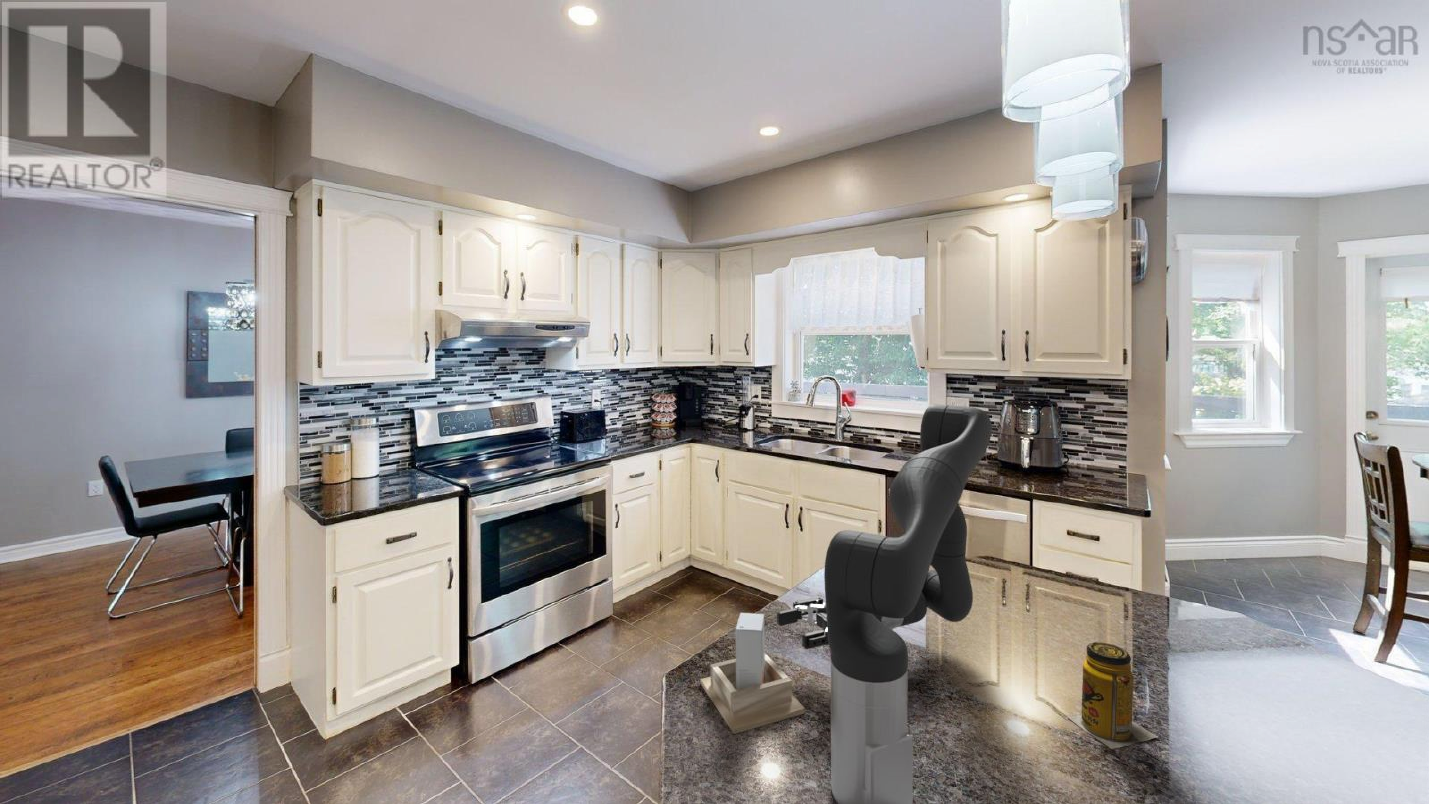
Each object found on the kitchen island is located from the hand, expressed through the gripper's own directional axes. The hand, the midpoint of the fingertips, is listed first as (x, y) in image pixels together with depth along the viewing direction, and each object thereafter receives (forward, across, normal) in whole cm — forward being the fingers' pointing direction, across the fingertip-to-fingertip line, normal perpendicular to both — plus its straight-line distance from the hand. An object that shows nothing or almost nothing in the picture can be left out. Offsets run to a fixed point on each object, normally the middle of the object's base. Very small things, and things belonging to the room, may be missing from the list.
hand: (790, 630), depth 94 cm
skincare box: (+7, 0, +9) cm, 12 cm away
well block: (+8, 0, +10) cm, 12 cm away
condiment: (-37, +28, +10) cm, 48 cm away
